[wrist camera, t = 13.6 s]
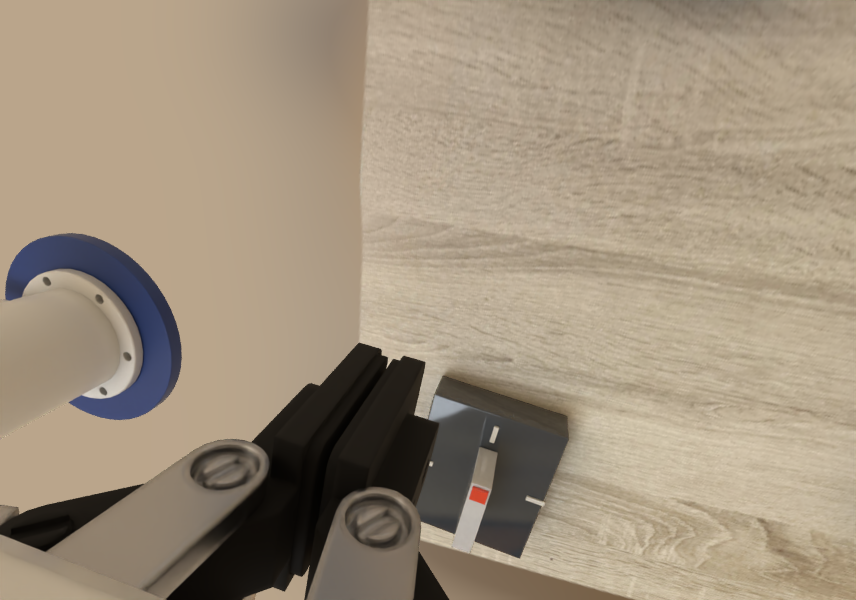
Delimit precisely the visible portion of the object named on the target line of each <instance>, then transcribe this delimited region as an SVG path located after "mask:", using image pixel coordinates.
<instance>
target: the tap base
mask: <svg viewBox="0 0 856 600" xmlns="http://www.w3.org/2000/svg"><path fill="white" fill-rule="evenodd" d="M428 420H431V421H434V422H438V423H440V424H439V429H438V434H437V438H436V441H435V445H434V449H433V453H432V457H431V460H430V464H429V468H428V471H427V474H426V478H425V481H424V484H423V487H422V490H421V493H420V496H419V499H418V502H417V505H416V509H417V511H418V513H419V516H420V520H421V522H424V523H427V524H429V525H432V526H435V527H437V528H440V529H442V530H445V531H448V532H450V533H453V534H454V533H455V529H456V525H457V521H458V516H459V512H460V508H461V505H462V501H463V498H464V495H465V492H466V489H467V485H468V482H469V479H470V476H471V473H472V469H473V466H474V463H475V460H476V457H477V453H478V450H479V447H482V448H485V449H488V450H491V451H494V452H497V453H498V455H497V461H496V467H495V473H494V479H493V485H492V491H491V494H490V497H489V499H488V502H487V505H486V508H485V511H484V514H483V517H482V520H481V523H480V526H479V529H478V532H477V535H476V538H475V541H474V542H477V543H480V544H482V545H485V546H488V547H490V548H493V549H495V550H498V551H501V552H503V553H506V554H509V555H511V556H514V557H517V558H520V557H521V555H522V552H523V550H524V547H525V545H526V543H527V540H528V538H529V535H530V533H531V530H532V528H533V526H534V523H535V521H536V518H537V516H538V513H539V511H540V509H541V506H543V507H544V505H545V501H544V499H545V496H546V494H547V492H548V489H549V487H550V484H551V482H552V479H553V477H554V475H555V472H556V470H557V467H558V465H559V462H560V460H561V457H562V455H563V453H564V450H565V448H566V445H567V443H568V440H569V433H568V418H567V416H565V415H562V414H559V413H556V412H553V411H550V410H546V409H543V408H540V407H537V406H534V405H531V404H528V403H525V402H522V401H519V400H516V399H513V398H510V397H507V396H504V395H500V394H497V393H494V392H491V391H488V390H485V389H482V388H479V387H476V386H473V385H470V384H467V383H464V382H461V381H458V380H455V379H451V378H448V377H445V376H442V378H441V381H440V383H439V385H438V387H437V389H436V392H435V394H434V397H433V401H432V405H431V409H430V412H429V416H428Z"/></svg>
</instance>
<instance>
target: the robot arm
mask: <svg viewBox="0 0 856 600" xmlns="http://www.w3.org/2000/svg"><path fill="white" fill-rule="evenodd" d="M381 354H382V351H381V349H379V348H376V347H372V346H369V345H366V344H362V343H358V344H357V345H356V346H355V348H354V349H353V350H352V351H351V352H350V353H349V354H348V355H347V356H346V358H345V359H344V360H343V361H342V362H341V363H340V364H339V365H338V367H336V369H335V370H334V371H333V372H332V373H331V374H330V375H329V376H328V378H327V379H326V380H325V381H324V382H323V383H322V384H321V385H320V386H318V385H315V384H312V383H311V384H308V385H306V386H305V387H304V388H303V389H302V390H301V391H300V392H299V393H298V394H297V395H296V396H295V397H294V398H293V399H292V400H291V402H290V403H289V404H288V405H287V406H286V407H285V408H284V409H283V410H282V411H281V412H280V413H279V414H278V415H277V416H276V417H275V418H274V419H273V420H272V421H271V422H270V423H269V424H268V425H267V427H266V428H265V429H264V430H263V431H262V432H261V433H260V434H259V435H258V436H257V437H256V438H255V439H254V440H253V441H252V442H248V441H245V440H237V439H225V440H217V441H214V442H210V443H207V444H204V445H202V446H201V447H199V448H197V449H195V450H193V451H192V452H190V453H189V454H188V455H187V456H185V457H183V458H182V459H180V460H179V461H177V462H176V463H174V464H173V465H172V466H170V467H169V468H167V469H166V470H164V471H163V472H161V473H160V474H158V475H157V476H156V477H154V478H153V479H151V480H150V481H148V482H147V483H145V484H141V485H137V486H132V487H127V488H122V489H118V490H113V491H108V492H104V493H99V494H94V495H90V496H85V497H81V498H76V499H72V500H67V501H63V502H57V503H53V504H49V505H45V506H41V507H38V508H34V509H31V510H28V511H26V512H24V513H22V514H20V515H19V509H18V507H12V506H5V505H0V600H255V595H256V593H258V592H260V591H263V590H266V589H269V588H271V587H274V588H277V589H280V590H282V591H285V590H286V588H287V587H288V585H289V583H290V581H291V580H292V578H293V576H294V574H296V575H298V576H301V577H302V576H303V575H304V574H305V572H306V571H307V569H308V567H309V565H310V567H309V574H308V580H307V586H306V593H305V599H304V600H449V598H448V597H447V595H446V594H445V592H444V591H443V589H442V587H441V586H440V584H439V583H438V581H437V579H436V578H435V576H434V575H433V573H432V571H431V570H430V568H429V567H428V565H427V564H426V562H425V560H424V559H423V557H422V556H421V554H420V552H419V543H420V534H421V520H420V516H419V513H418V511H417V509H416V505H417V502H418V499H419V496H420V493H421V490H422V487H423V484H424V481H425V478H426V474H427V471H428V468H429V464H430V460H431V457H432V453H433V449H434V445H435V441H436V438H437V434H438V429H439V424H440V423H438V422H434V421H431V420H428V419H425V418H421V417H418V416H415V415H414V413H415V408H416V404H417V400H418V395H419V391H420V387H421V382H422V378H423V373H424V369H425V362H423V361H420V360H417V359H413V358H410V357H406V356H403V357H402V358H401V360H400V361H399V360H396V359H393V360H392V361H391V363H390V364H389V366H388V367H387V362H388V357H386V356H382V355H381ZM142 363H143V348H142V341H141V337H140V334H139V330H138V327H137V325H136V323H135V321H134V319H133V317H132V315H131V313H130V312H129V310H128V309H127V307H126V306H125V304H124V303H123V302H122V301H121V299H120V298H119V297H118V296H117V295H116V294H115V293H114V292H113V291H112V290H111V289H110V288H109V287H108V286H106V285H105V284H104V283H102V282H101V281H99V280H98V279H96V278H95V277H93V276H91V275H89V274H86V273H84V272H82V271H78V270H73V269H56V270H52V271H48V272H44V273H42V274H40V275H37V276H36V277H35V278H33V279H32V280H31V281H30V282H29V283H28V285H27V286H26V288H25V289H24V292H23V295H22V297H21V298H17V299H14V300H11V301H9V300H0V439H2V438H4V437H5V436H7V435H9V434H11V433H13V432H15V431H16V430H18V429H20V428H22V427H24V426H26V425H27V424H29V423H31V422H33V421H35V420H37V419H39V418H40V417H42V416H44V415H46V414H48V413H50V412H51V411H53V410H55V409H57V408H59V407H60V406H62V405H64V404H66V403H68V402H70V401H72V400H73V399H75V398H77V397H79V396H81V395H82V396H86V397H89V398H97V399H103V398H110V397H113V396H115V395H118V394H120V393H121V392H123V391H125V390H126V389H128V388H129V387H130V386H131V385H132V384H133V383H134V382H135V381H136V379H137V377H138V376H139V374H140V371H141V367H142ZM386 367H387V369H386Z"/></svg>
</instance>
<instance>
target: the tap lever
mask: <svg viewBox="0 0 856 600" xmlns="http://www.w3.org/2000/svg"><path fill="white" fill-rule="evenodd" d="M497 455H498V453H497V452H494V451H491V450H488V449H485V448H482V447H479V450H478V453H477V457H476V460H475V463H474V466H473V469H472V473H471V476H470V479H469V482H468V485H467V489H466V492H465V495H464V498H463V501H462V505H461V508H460V512H459V516H458V521H457V525H456V529H455V533H454V537H453V542H452V547H453V548H456V549H458V550H461V551H464V552H466V553H469V554H470V553H471V550H472V547H473V544H474V541H475V538H476V535H477V532H478V529H479V526H480V523H481V520H482V517H483V514H484V511H485V508H486V505H487V502H488V499H489V497H490V494H491V491H492V485H493V479H494V473H495V467H496V461H497Z"/></svg>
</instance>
